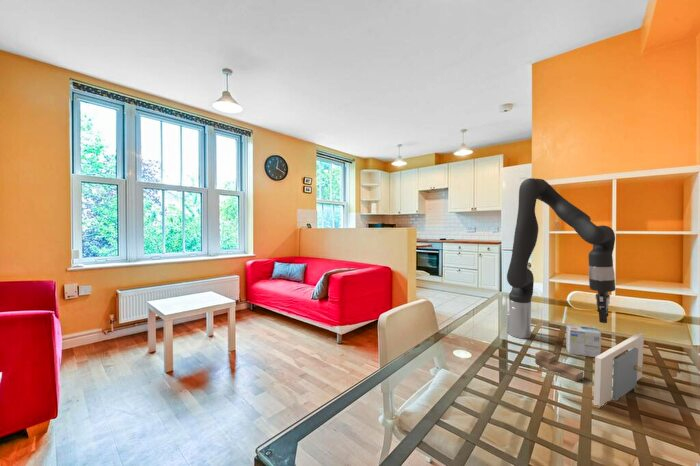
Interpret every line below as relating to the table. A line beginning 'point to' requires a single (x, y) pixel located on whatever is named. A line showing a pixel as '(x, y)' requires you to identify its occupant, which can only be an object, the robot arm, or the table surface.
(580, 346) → the light bulb box
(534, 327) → the table surface
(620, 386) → the door
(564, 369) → the block
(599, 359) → the wall frame
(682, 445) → the table surface
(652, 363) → the table surface
